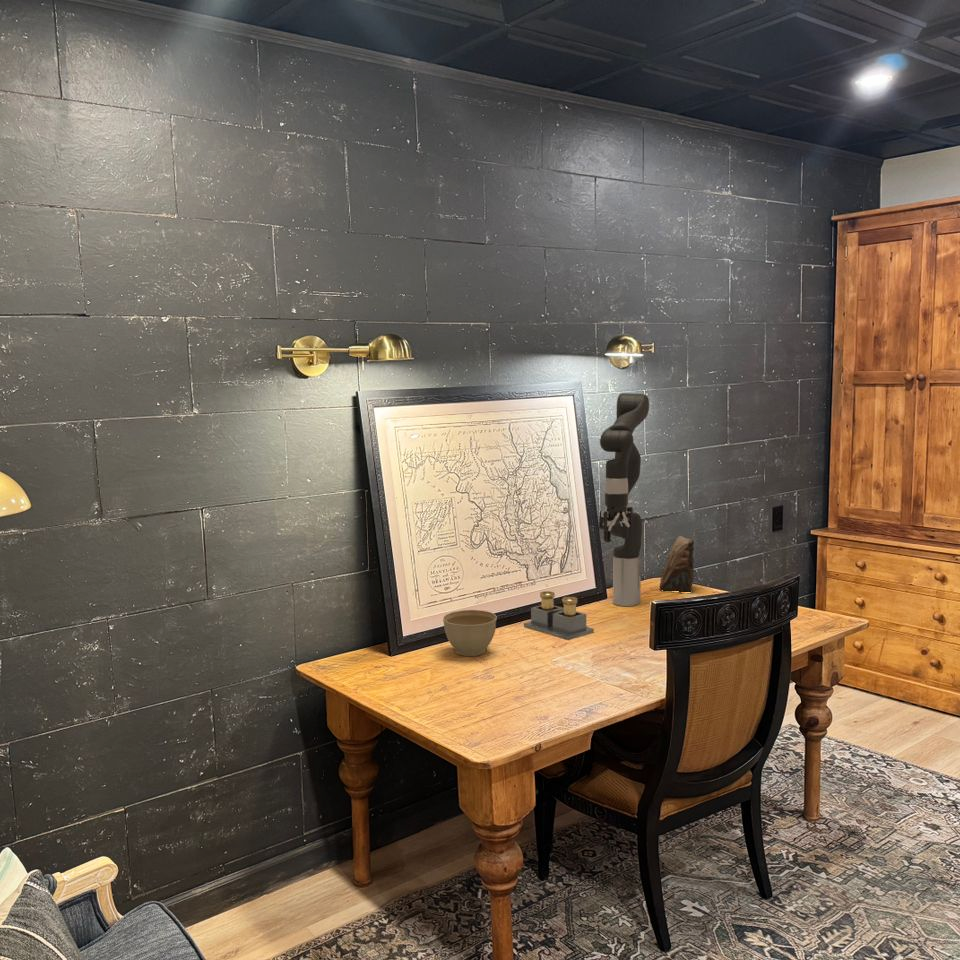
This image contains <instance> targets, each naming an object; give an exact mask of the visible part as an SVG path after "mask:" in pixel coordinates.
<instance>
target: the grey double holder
mask: <svg viewBox="0 0 960 960" xmlns="http://www.w3.org/2000/svg"><path fill="white" fill-rule="evenodd" d="M539 597H540V598H541V599H540V602H541V604H540V605H536V606H533V607H530V621H526V622H524V623H523V627H524V628H527V629H530V630H533V631H537V632H540V633H544V634H548V635H550V636H553V637H557V638H561V639H564V640H566V641H567V640H568V641H569V640H572V639H576V638H579V637H582V636H586V635H590V634H593V633H594V631H595V629H594V628H593V627H589V626H587V613H583V612H580V611H577V610H576V616H573V617H567V616H564V607H561V606H558V605H554V599H555V597H556V594H555V592H554V591H548V590H547V591H541V592H539Z"/></svg>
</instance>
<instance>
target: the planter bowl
mask: <svg viewBox="0 0 960 960" xmlns="http://www.w3.org/2000/svg"><path fill="white" fill-rule="evenodd" d="M497 618H498V617H497V615H496V614H495V613H493V612H491V611H487V610H481V609H463V610H462V609H461V610H457V611H451V612H449V613H446V614H445V615H443V617H442V620H443V621H442V622H443V626H444V633H445V635H446V637H447V640H448V641H449V643H450V645H451V647H453V649H454V653H455V654H457V655H459V656H465V657H476V656H480V655H481V656H482V655H484V654H485V653H486V652H487V651H488V646H490V644H491V643H492V640H493V639H494V636H495V634H496V633H495V632H496V627H497V620H498V619H497Z"/></svg>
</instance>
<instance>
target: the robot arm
mask: <svg viewBox="0 0 960 960" xmlns="http://www.w3.org/2000/svg"><path fill="white" fill-rule="evenodd" d="M649 399H650V398H649V397H648V395H646V394H644V393H635V392H634V393H628V392H627V393H626V392H621V393H620V394H618V397H617V400H616V419H615V420H614V423H613V424H612V425H611V426H609V427H608V428H606V429H604V430H603V431H602V433H601V435H600V437H599V444H600V448H601V449H602V450H603V451H605V452H607V453H614V458H612V459H608V460H607V461H606V462H605V482H604V506H606V510H599V514H598V515H599V516H598V517H599V522H598V524H599V525H598V529H599V530H602V531H603V540H604V542H605V543H611V542H612V536H614V537H618V538H619V537H620V538H621V539H624V544H622V545H619V546H615V547H614V548H613V550H612V551H613V552H612V555H613V556H612V557H613V558H612V562H613V563H612V565H613V566H612V571H613V572H612V573H613V574H612V588H613V589H612V604H614V605H615V606H620V607H622V606H623V607H633V606H637V605H639V604H640V603H641V598H642V597H641V588H642V587H641V586H642V584H641V582H642V579H641V576H640V551H641V548H642V536H643V535H642V534H643V520H642V516H641V515H640V514H639V513H636V512H633V511H634V507H633V506H628V505H629V494H630V492H631V491H632V489H633V488H634V487H635V485H636V484H637V482H638V480H639V478H640V475H641V463H642V462H641V460H642V458H641V454H640V452H639V450H638V448H637V446H636V444H635V442H634V436H633V435H634V434H633V433H634V431H635V429H636V428H637V427H638V426H640V424H641V423H642V422H643V421H645V420H646V419H647V417H648V415H649V412H650V400H649Z"/></svg>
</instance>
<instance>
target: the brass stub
mask: <svg viewBox="0 0 960 960" xmlns="http://www.w3.org/2000/svg"><path fill="white" fill-rule="evenodd" d="M561 601H562V604H563V608H564V616H567V617H573V616H576V611H577V604H578V598H577V597H575V596H564V597H562V599H561Z"/></svg>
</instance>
